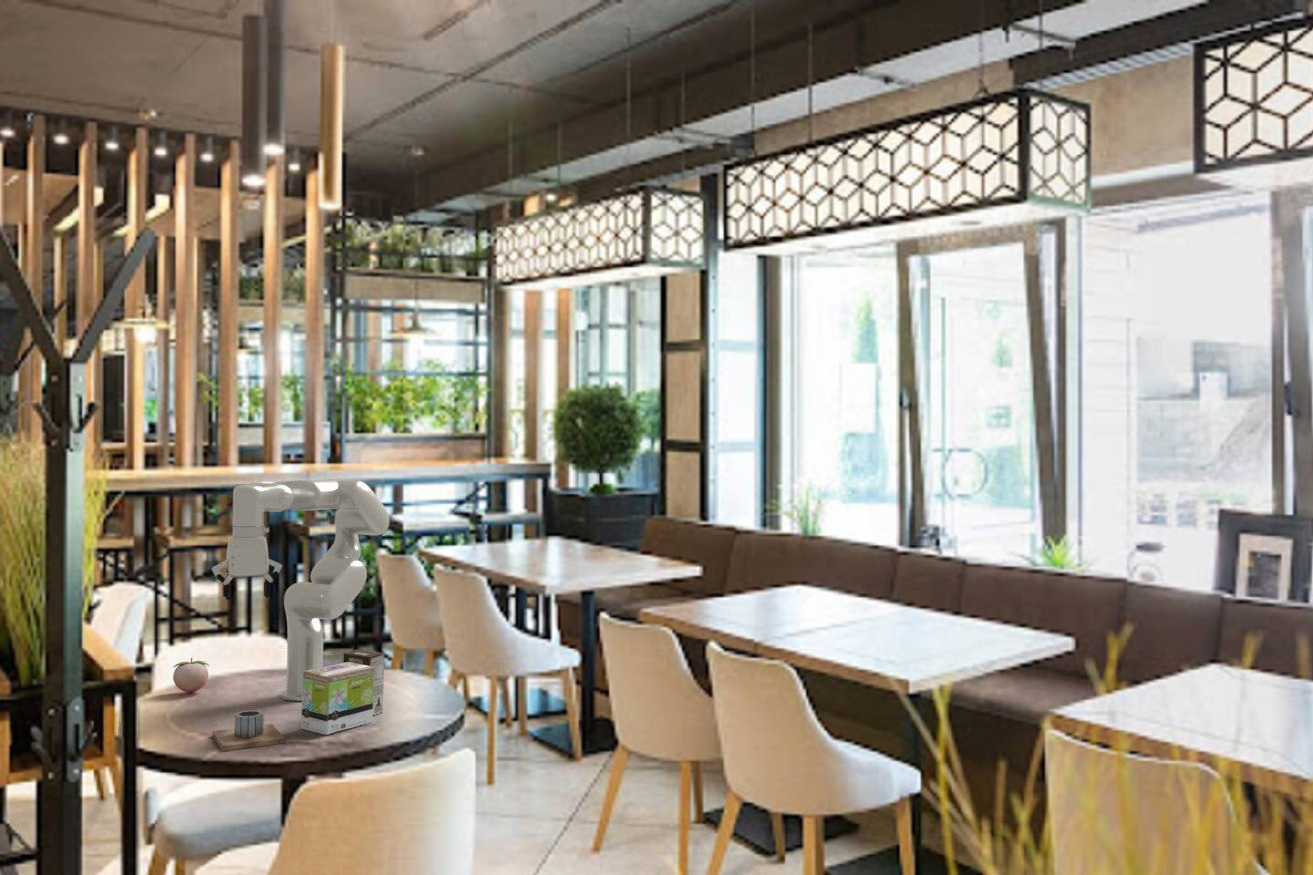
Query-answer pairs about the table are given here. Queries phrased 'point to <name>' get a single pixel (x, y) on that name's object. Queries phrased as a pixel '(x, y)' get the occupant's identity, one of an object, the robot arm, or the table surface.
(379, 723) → the table surface
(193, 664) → the decorative fruit
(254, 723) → the grey hollow cylinder
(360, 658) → the coffee box
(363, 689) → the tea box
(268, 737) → the shaft base
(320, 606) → the robot arm
